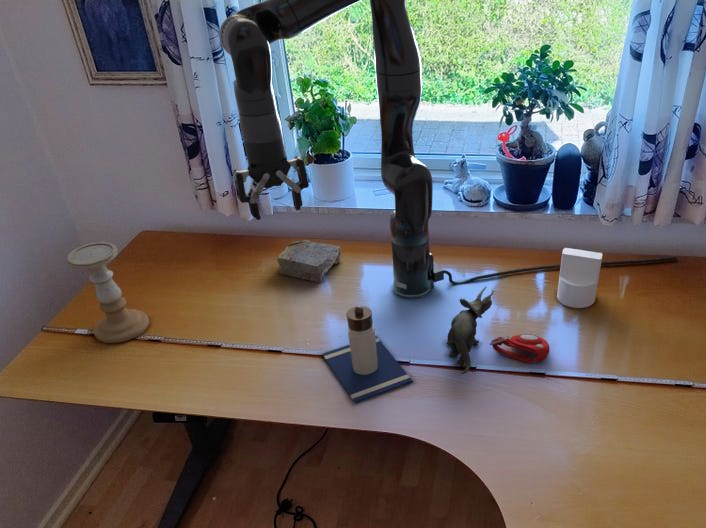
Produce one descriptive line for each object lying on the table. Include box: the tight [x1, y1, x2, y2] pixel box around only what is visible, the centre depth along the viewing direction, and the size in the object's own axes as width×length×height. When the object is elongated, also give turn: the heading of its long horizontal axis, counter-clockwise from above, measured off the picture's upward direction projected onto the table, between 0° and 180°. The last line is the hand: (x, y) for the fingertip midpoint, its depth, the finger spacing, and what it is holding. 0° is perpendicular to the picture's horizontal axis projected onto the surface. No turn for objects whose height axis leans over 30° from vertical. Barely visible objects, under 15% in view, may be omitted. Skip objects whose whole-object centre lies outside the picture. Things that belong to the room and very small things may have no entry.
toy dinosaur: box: [446, 286, 495, 375], centre depth 132 cm, size 22×8×11 cm, turn 160°
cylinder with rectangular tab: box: [556, 247, 603, 309], centre depth 147 cm, size 9×9×12 cm
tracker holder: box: [489, 333, 550, 364], centre depth 134 cm, size 12×4×10 cm
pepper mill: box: [346, 305, 378, 375], centre depth 128 cm, size 5×5×15 cm
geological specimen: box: [276, 239, 342, 283], centre depth 165 cm, size 11×6×15 cm
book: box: [322, 335, 414, 404], centre depth 133 cm, size 13×18×1 cm
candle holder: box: [65, 241, 150, 344], centre depth 142 cm, size 12×12×20 cm
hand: (277, 213), depth 129 cm, fingers open, 8 cm apart
